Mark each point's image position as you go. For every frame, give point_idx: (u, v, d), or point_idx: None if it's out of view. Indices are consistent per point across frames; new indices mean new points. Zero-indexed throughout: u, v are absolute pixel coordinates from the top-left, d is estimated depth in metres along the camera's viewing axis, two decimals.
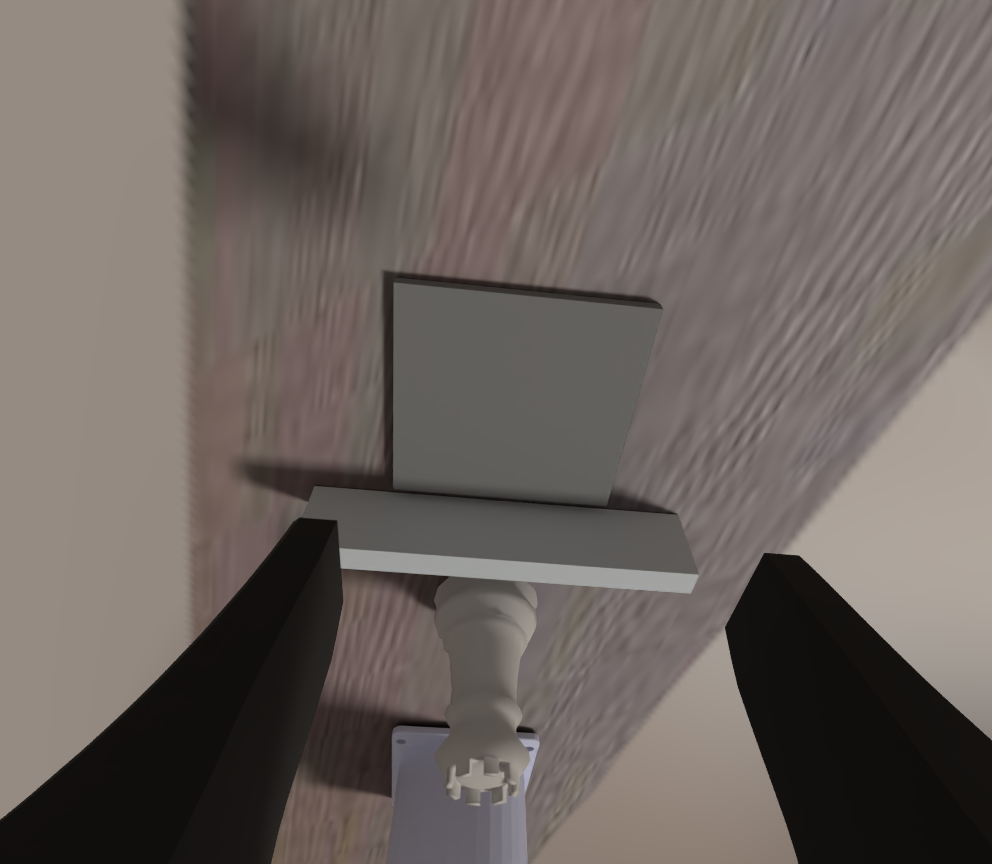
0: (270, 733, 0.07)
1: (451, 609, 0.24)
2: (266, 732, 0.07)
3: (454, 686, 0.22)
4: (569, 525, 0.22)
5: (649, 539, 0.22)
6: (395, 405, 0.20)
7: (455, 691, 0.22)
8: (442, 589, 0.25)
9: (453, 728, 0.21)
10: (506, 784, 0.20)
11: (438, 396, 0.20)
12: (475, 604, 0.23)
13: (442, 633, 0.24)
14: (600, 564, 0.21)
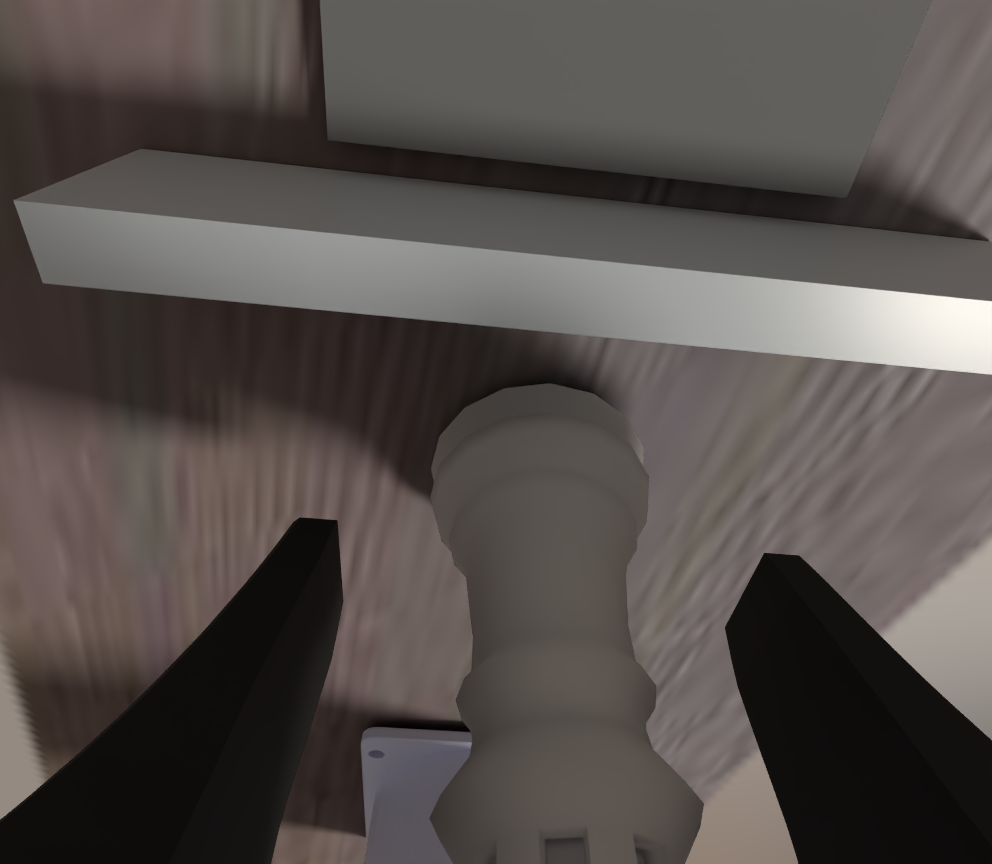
0: (270, 733, 0.07)
1: (468, 466, 0.11)
2: (266, 732, 0.07)
3: (478, 630, 0.09)
4: (765, 234, 0.09)
5: (966, 264, 0.09)
6: None
7: (482, 641, 0.09)
8: (449, 439, 0.12)
9: (482, 736, 0.07)
10: None
11: None
12: (526, 450, 0.10)
13: (449, 527, 0.11)
14: (885, 286, 0.08)
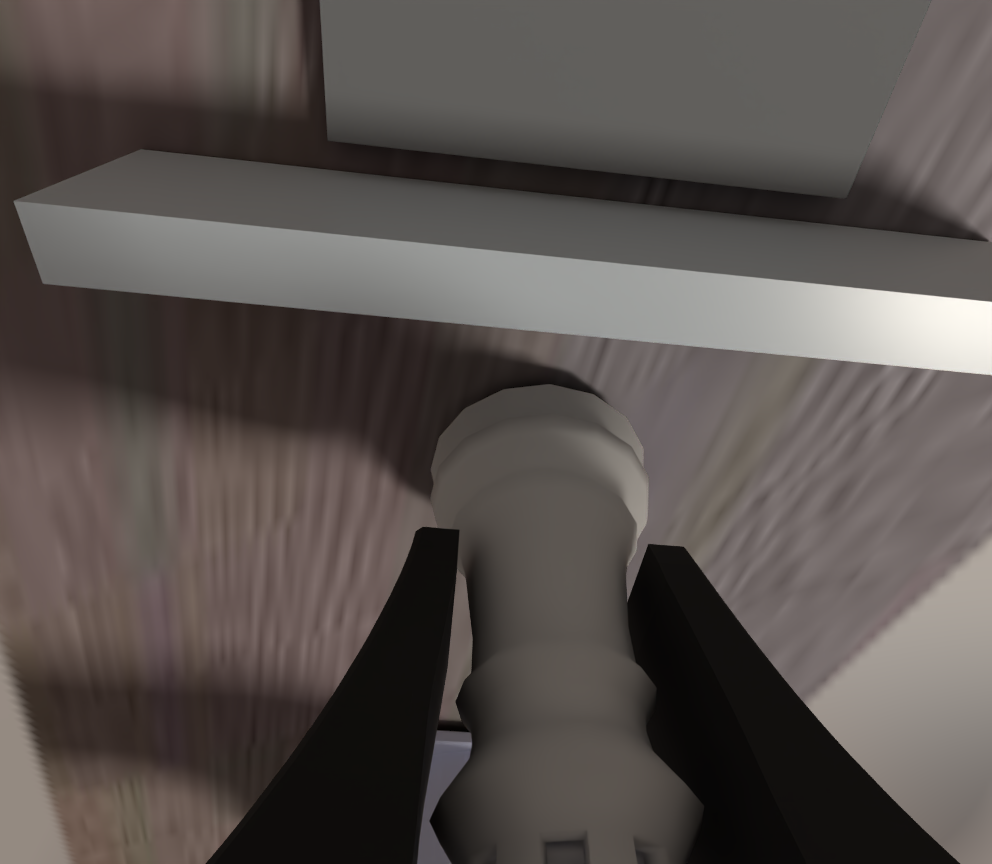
0: (428, 742, 0.07)
1: (468, 467, 0.11)
2: (427, 741, 0.07)
3: (479, 632, 0.09)
4: (764, 235, 0.09)
5: (966, 264, 0.09)
6: None
7: (482, 642, 0.09)
8: (448, 441, 0.12)
9: (482, 738, 0.07)
10: None
11: None
12: (525, 451, 0.10)
13: (448, 528, 0.11)
14: (885, 287, 0.08)
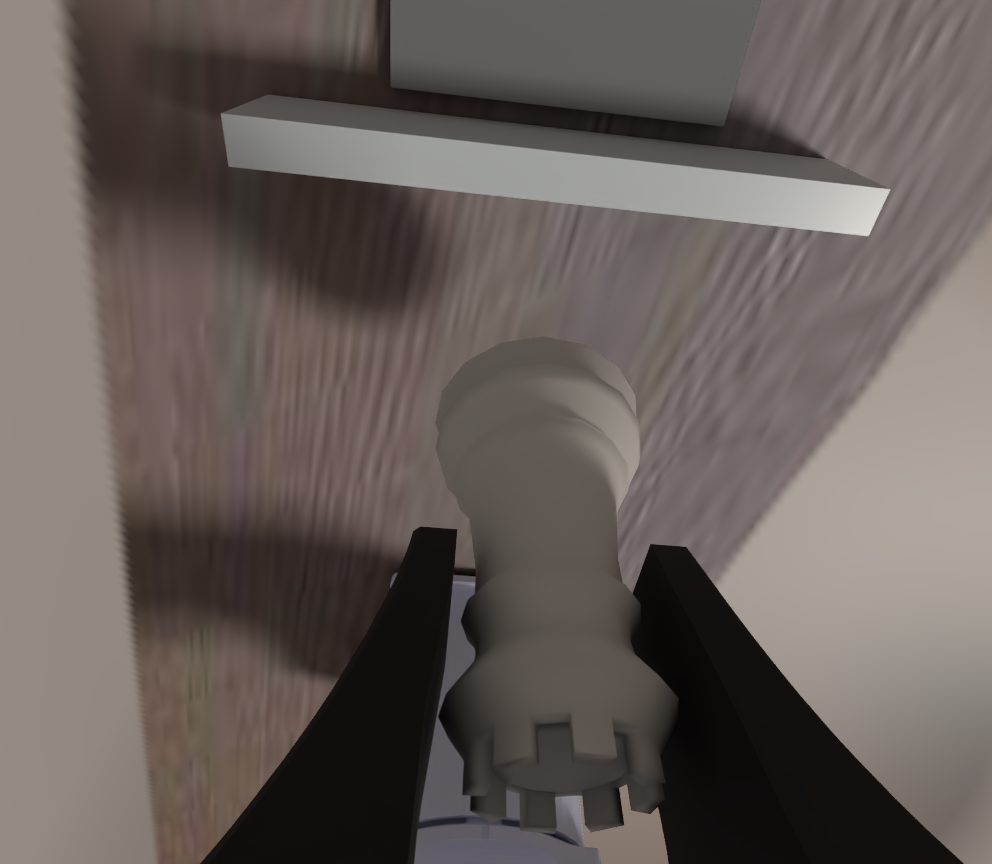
0: (425, 742, 0.07)
1: (469, 416, 0.11)
2: (424, 741, 0.07)
3: (480, 560, 0.10)
4: (669, 148, 0.14)
5: (795, 165, 0.14)
6: None
7: (483, 569, 0.09)
8: (451, 393, 0.13)
9: (483, 647, 0.08)
10: (620, 780, 0.08)
11: None
12: (521, 399, 0.11)
13: (453, 474, 0.12)
14: (730, 170, 0.13)
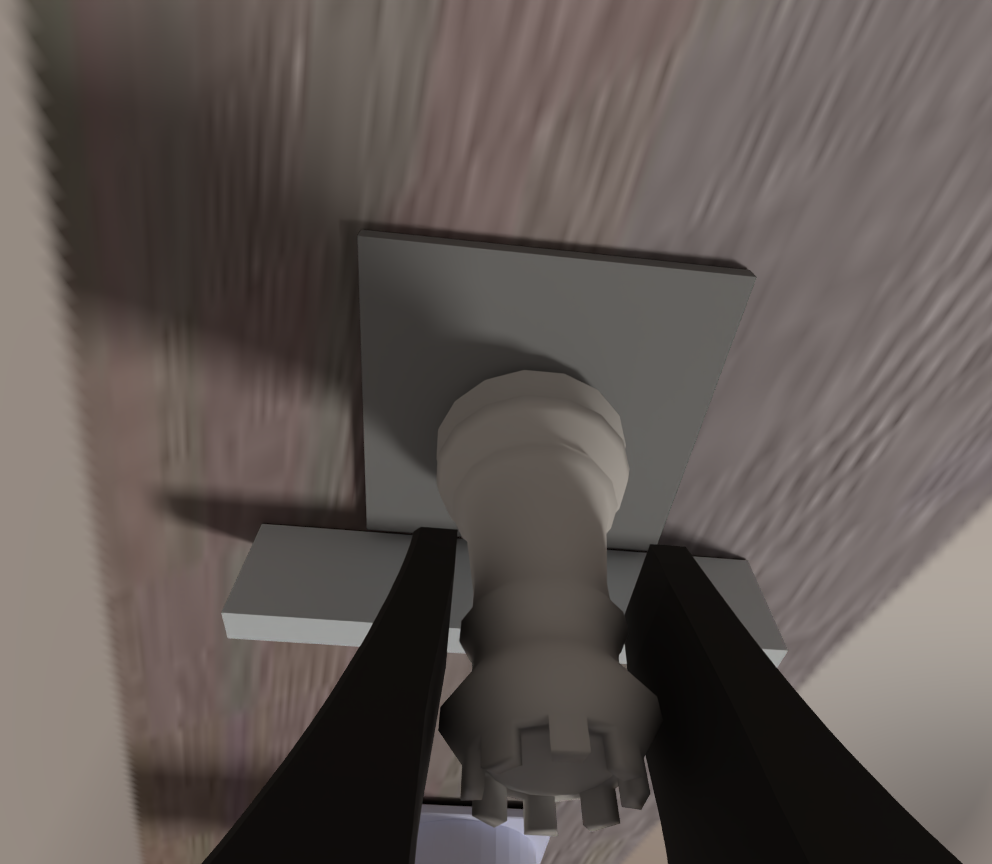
0: (426, 742, 0.07)
1: (460, 450, 0.12)
2: (425, 741, 0.07)
3: (474, 584, 0.10)
4: None
5: None
6: (366, 417, 0.14)
7: (476, 591, 0.10)
8: (446, 431, 0.14)
9: (475, 662, 0.09)
10: (613, 780, 0.09)
11: (426, 404, 0.14)
12: (505, 430, 0.12)
13: (452, 505, 0.13)
14: None
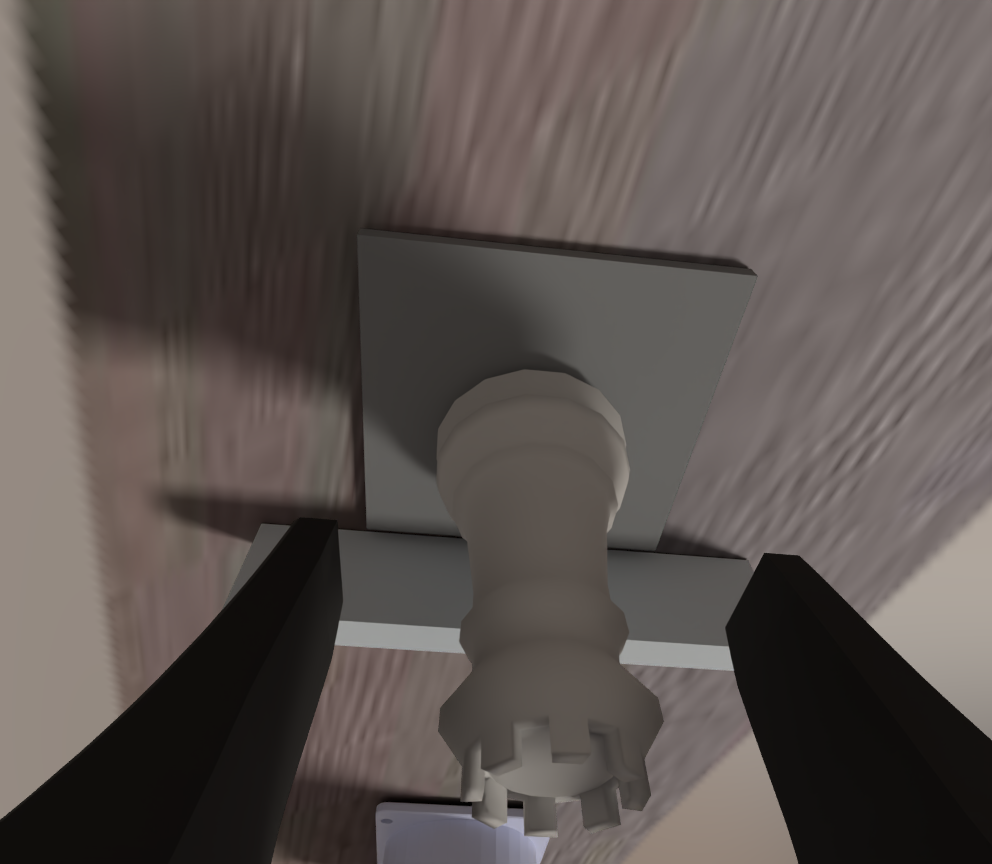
0: (270, 733, 0.07)
1: (460, 450, 0.12)
2: (266, 732, 0.07)
3: (475, 584, 0.10)
4: None
5: (714, 597, 0.16)
6: (366, 416, 0.14)
7: (476, 591, 0.10)
8: (446, 430, 0.13)
9: (475, 663, 0.09)
10: (614, 781, 0.09)
11: (426, 404, 0.14)
12: (505, 429, 0.12)
13: (453, 505, 0.13)
14: (652, 636, 0.15)
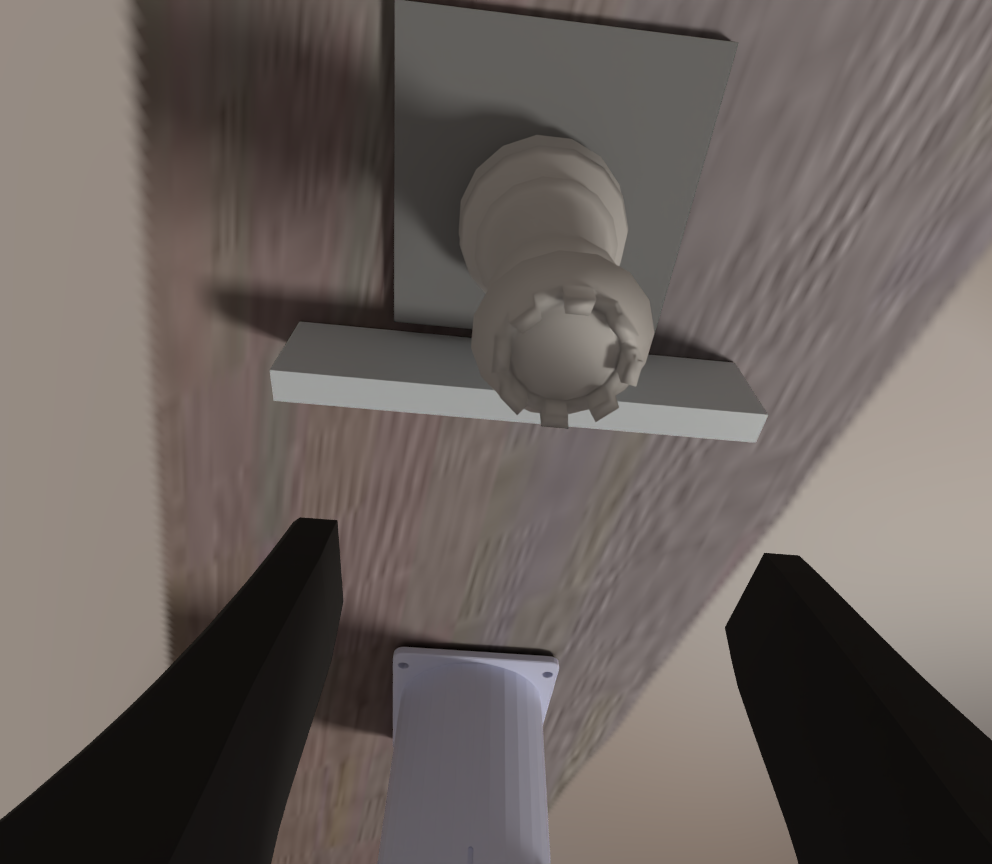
0: (270, 733, 0.07)
1: (482, 196, 0.14)
2: (266, 732, 0.07)
3: None
4: None
5: (703, 382, 0.18)
6: (397, 195, 0.16)
7: None
8: None
9: None
10: (613, 379, 0.11)
11: (450, 181, 0.16)
12: (521, 171, 0.14)
13: (474, 255, 0.15)
14: (648, 401, 0.17)
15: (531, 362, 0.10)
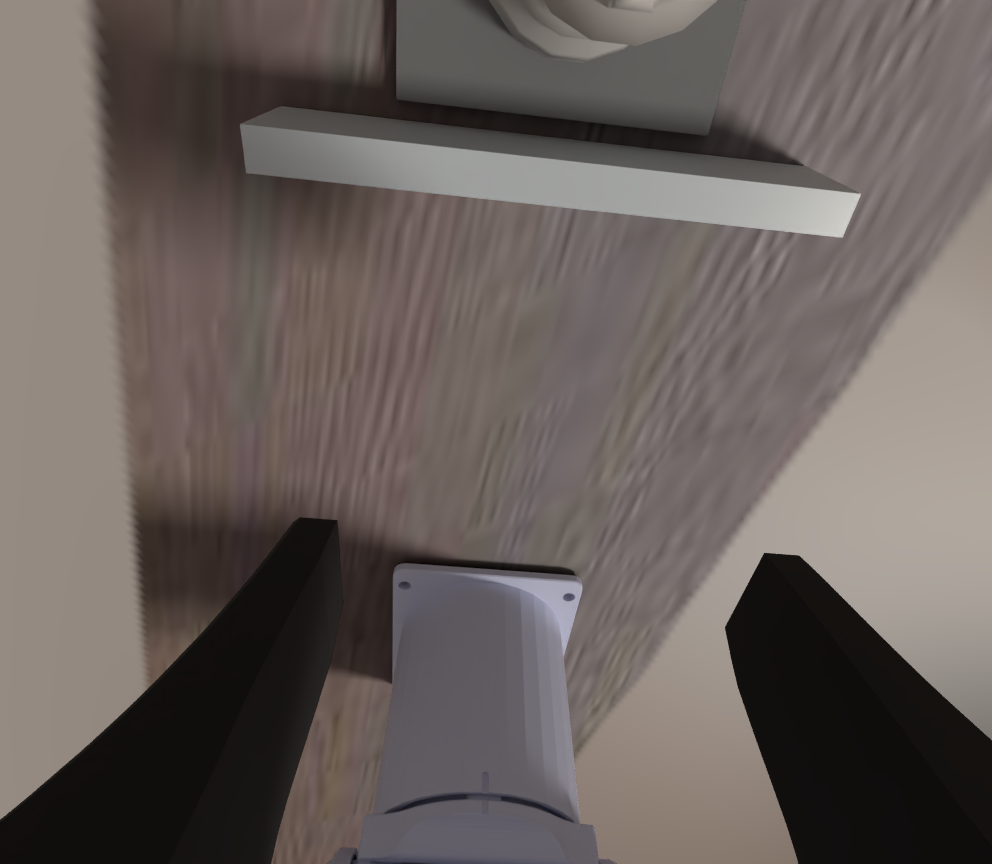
0: (270, 733, 0.07)
1: None
2: (266, 732, 0.07)
3: None
4: (656, 156, 0.15)
5: (774, 172, 0.15)
6: None
7: None
8: None
9: None
10: None
11: None
12: None
13: None
14: (712, 175, 0.14)
15: None
